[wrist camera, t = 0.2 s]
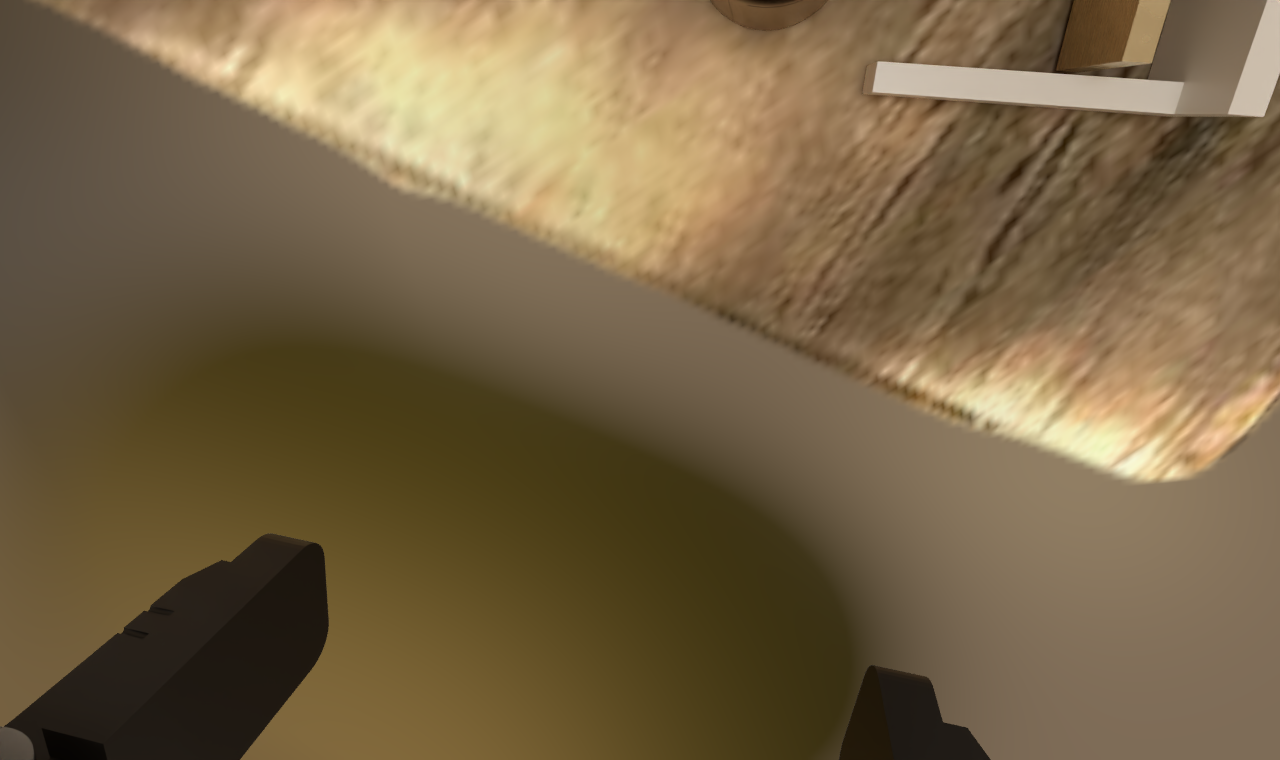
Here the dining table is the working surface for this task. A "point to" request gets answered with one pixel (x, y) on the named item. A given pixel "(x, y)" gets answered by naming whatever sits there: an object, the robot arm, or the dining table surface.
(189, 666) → the robot arm
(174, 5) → the dining table surface
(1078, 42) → the catch plate
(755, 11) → the supplement bottle
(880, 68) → the holder
